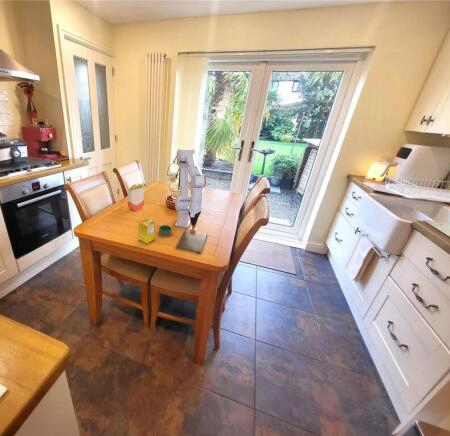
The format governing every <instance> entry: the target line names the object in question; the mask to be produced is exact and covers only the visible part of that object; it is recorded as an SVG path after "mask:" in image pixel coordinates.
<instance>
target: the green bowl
mask: <svg viewBox="0 0 450 436" xmlns="http://www.w3.org/2000/svg"><path fill="white" fill-rule="evenodd" d="M172 230H173V229H172V227H171V226H170V225H168V224H167V225H166V224H163V225H160V226H159V227H158V235H159V236H160V237H164V238H167V237H170V236H172Z"/></svg>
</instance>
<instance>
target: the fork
mask: <svg viewBox="0 0 450 436" xmlns="http://www.w3.org/2000/svg"><path fill="white" fill-rule="evenodd" d="M196 225H197V224H196ZM196 225H195V226H193V225H191V227H190V229H189V230H190V234H191V235H196V232H197V226H196Z"/></svg>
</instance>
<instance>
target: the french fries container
mask: <svg viewBox="0 0 450 436" xmlns="http://www.w3.org/2000/svg"><path fill="white" fill-rule="evenodd" d="M144 205H145V187H144V183H138V184H132V185H131V186H130V187H129V189H128V191H127V208H129V209H131V210H132V211H138V210H141V209H142V208H143V207H144Z"/></svg>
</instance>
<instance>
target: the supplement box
mask: <svg viewBox="0 0 450 436" xmlns="http://www.w3.org/2000/svg"><path fill="white" fill-rule="evenodd" d="M155 223H156V222H155V221H153V220H151V219H149V218H144V219H142V220H141V221H138V237H139V238H138V240H139V241H140V242H143V243H145V244H147V245H148V244H150V243H151V242H153V241H154V240H155V229H156V228H155V226H156V224H155Z"/></svg>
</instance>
